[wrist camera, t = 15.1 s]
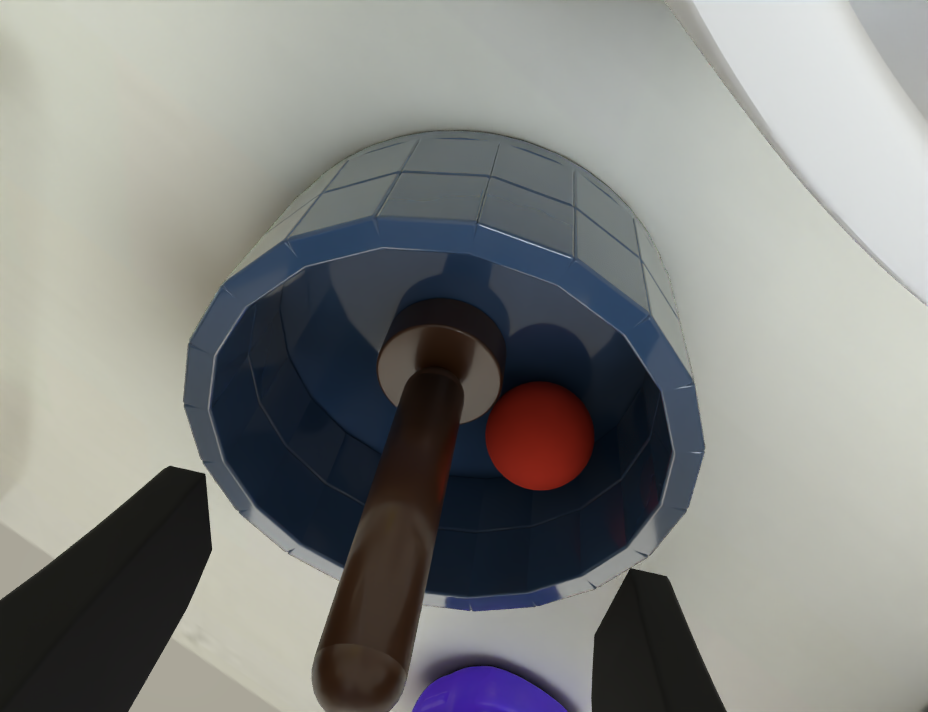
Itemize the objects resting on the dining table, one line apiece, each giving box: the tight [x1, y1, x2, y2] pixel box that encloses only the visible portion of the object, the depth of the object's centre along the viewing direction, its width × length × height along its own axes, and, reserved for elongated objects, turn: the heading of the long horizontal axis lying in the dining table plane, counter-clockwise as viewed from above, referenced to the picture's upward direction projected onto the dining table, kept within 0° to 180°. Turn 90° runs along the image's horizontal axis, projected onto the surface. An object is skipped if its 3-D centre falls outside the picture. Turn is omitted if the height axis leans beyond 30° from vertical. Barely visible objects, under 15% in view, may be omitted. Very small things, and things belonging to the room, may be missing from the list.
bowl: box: [183, 131, 705, 611], centre depth 15 cm, size 10×10×4 cm
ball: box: [485, 381, 594, 490], centre depth 16 cm, size 3×3×3 cm
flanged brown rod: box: [312, 298, 506, 712], centre depth 13 cm, size 3×3×9 cm
